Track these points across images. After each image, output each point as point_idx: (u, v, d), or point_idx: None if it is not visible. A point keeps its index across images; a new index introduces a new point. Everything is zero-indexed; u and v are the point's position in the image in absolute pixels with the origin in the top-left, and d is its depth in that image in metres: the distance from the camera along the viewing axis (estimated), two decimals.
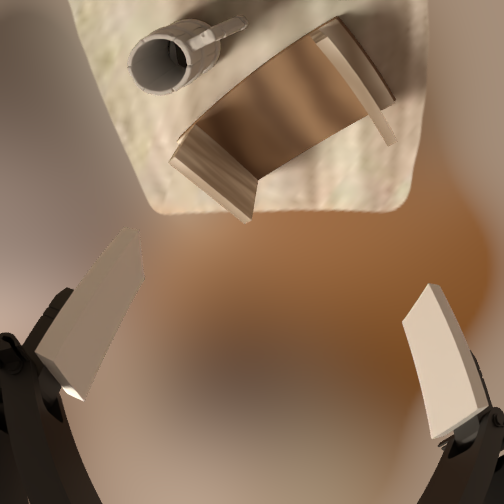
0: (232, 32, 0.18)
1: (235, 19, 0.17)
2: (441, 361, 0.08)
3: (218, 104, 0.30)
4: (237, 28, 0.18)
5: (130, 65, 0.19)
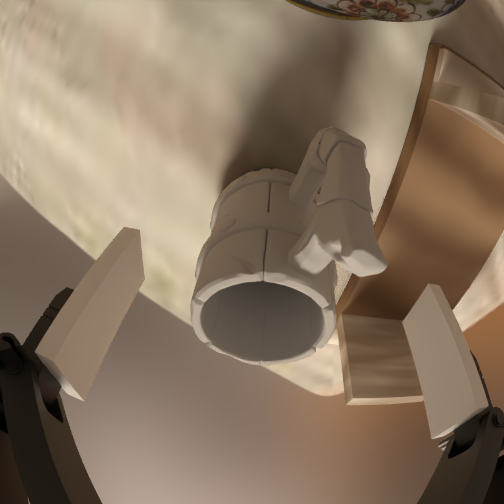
0: (368, 189, 0.09)
1: (347, 151, 0.09)
2: (441, 361, 0.08)
3: (362, 277, 0.20)
4: (366, 171, 0.09)
5: (209, 341, 0.12)
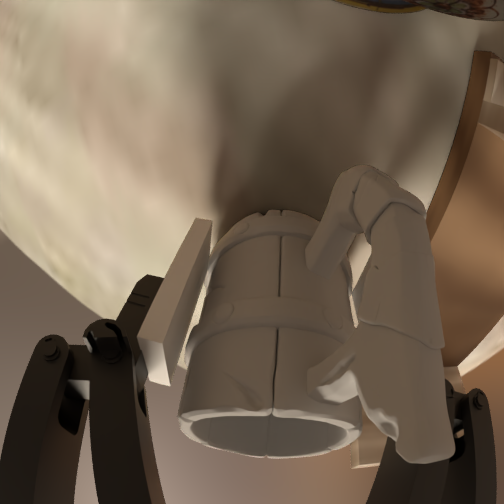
0: None
1: (407, 227, 0.06)
2: None
3: None
4: (432, 260, 0.06)
5: (204, 442, 0.09)
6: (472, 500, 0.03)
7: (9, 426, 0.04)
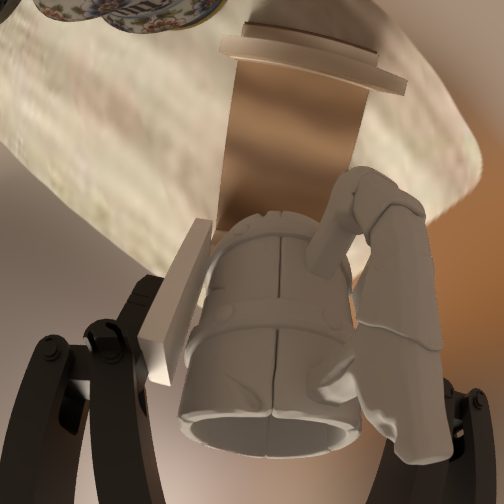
0: None
1: (406, 230, 0.06)
2: None
3: (221, 195, 0.28)
4: None
5: (204, 442, 0.09)
6: (472, 500, 0.03)
7: (9, 426, 0.04)
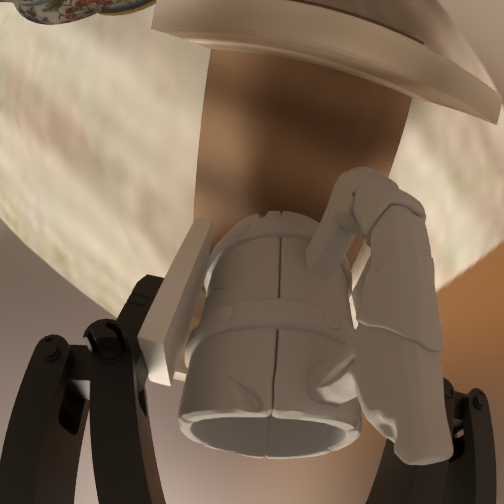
0: None
1: (406, 230, 0.06)
2: None
3: None
4: None
5: (204, 442, 0.09)
6: (472, 500, 0.03)
7: (9, 426, 0.04)
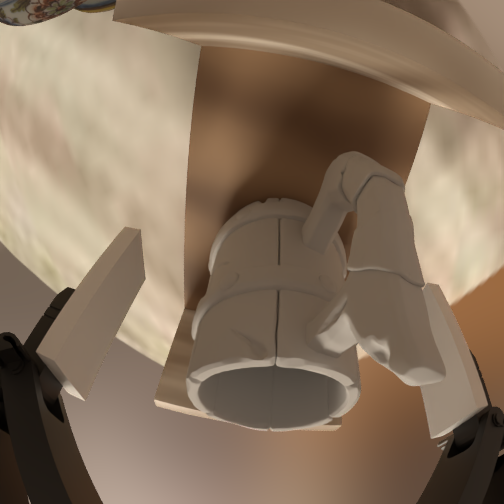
0: None
1: (385, 193, 0.07)
2: None
3: (187, 267, 0.19)
4: (410, 220, 0.07)
5: (209, 412, 0.10)
6: None
7: None
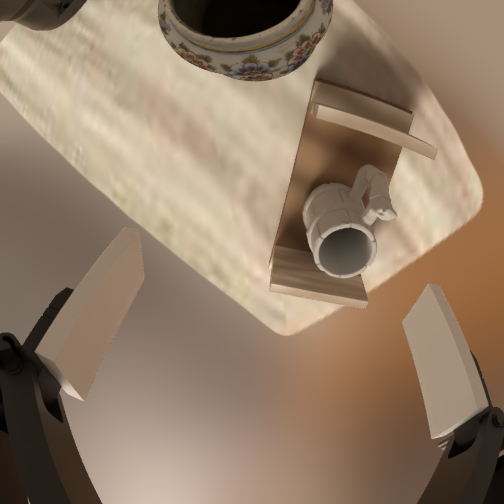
0: (388, 193, 0.23)
1: (380, 178, 0.23)
2: (441, 361, 0.08)
3: (283, 217, 0.35)
4: (387, 186, 0.23)
5: (319, 262, 0.26)
6: None
7: None
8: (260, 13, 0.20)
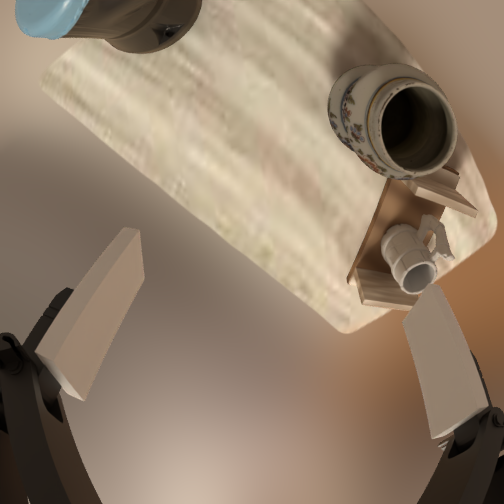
0: None
1: (442, 229, 0.33)
2: (441, 361, 0.08)
3: (365, 248, 0.44)
4: None
5: (402, 285, 0.36)
6: None
7: None
8: None
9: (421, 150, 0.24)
